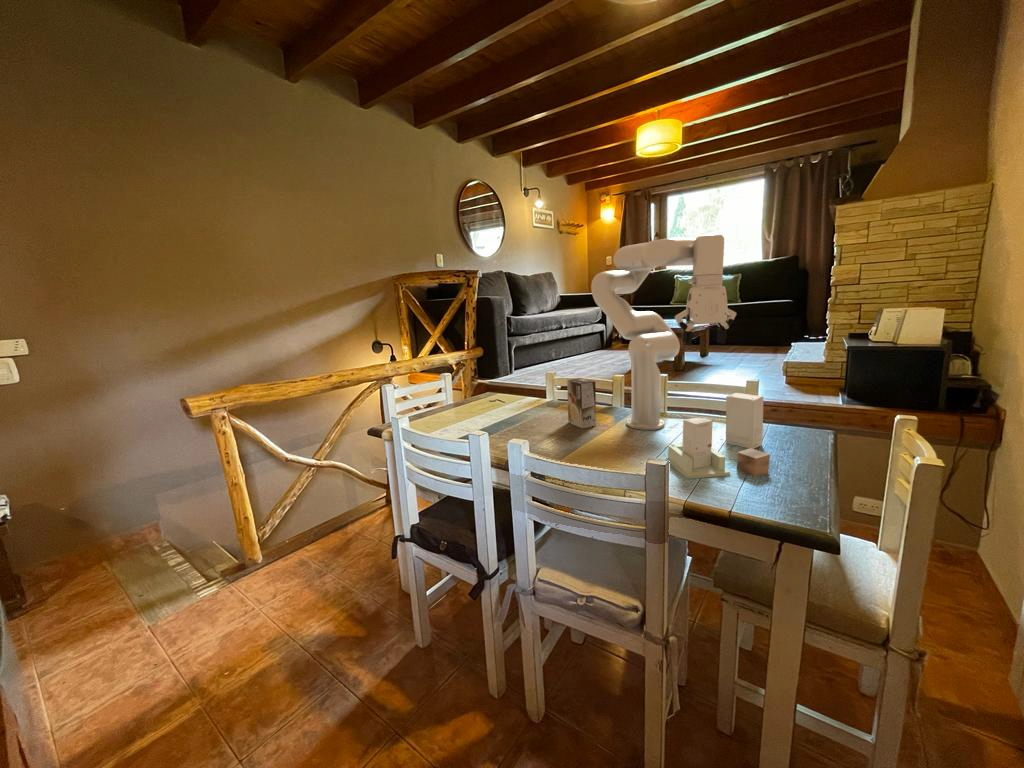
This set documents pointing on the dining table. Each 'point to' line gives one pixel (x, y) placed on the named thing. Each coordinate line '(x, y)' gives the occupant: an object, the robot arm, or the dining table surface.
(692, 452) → the skincare box
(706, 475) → the u rest
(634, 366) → the robot arm
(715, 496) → the dining table surface
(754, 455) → the walnut block
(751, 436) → the skincare box
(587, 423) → the coffee box
